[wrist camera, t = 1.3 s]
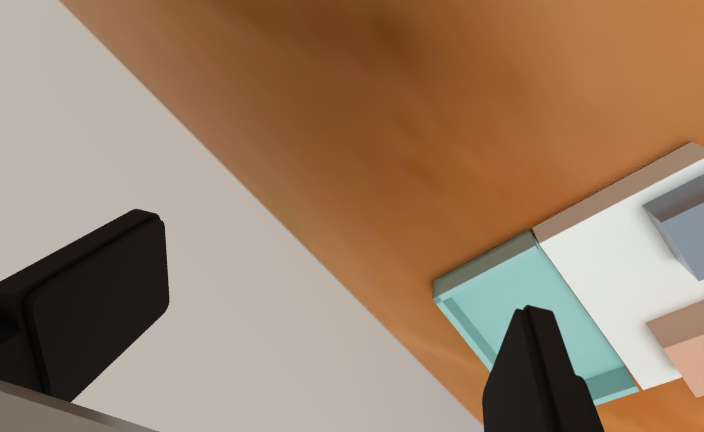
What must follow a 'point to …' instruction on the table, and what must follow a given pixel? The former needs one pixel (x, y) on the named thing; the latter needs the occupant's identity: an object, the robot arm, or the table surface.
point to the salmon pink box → (684, 342)
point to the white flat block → (627, 261)
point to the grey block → (682, 223)
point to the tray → (516, 292)
